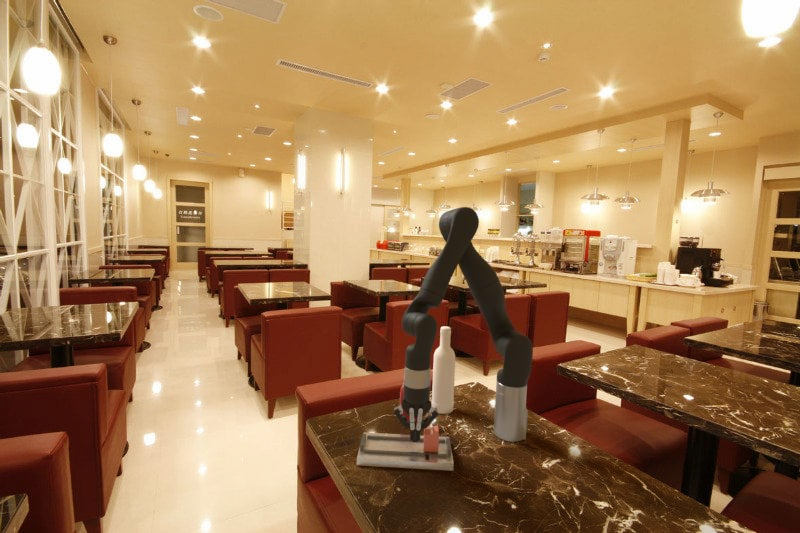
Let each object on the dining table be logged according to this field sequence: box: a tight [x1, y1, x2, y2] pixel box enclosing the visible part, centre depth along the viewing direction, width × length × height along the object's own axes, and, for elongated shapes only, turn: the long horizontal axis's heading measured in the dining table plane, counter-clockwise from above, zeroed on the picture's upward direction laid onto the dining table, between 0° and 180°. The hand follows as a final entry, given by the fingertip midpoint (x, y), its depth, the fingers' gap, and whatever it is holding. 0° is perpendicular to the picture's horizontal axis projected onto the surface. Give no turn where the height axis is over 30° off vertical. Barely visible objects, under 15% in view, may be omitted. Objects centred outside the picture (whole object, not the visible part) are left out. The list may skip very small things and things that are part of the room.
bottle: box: [431, 325, 456, 415], centre depth 133 cm, size 8×8×30 cm
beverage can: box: [399, 383, 417, 422], centre depth 125 cm, size 6×6×12 cm
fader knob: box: [423, 423, 440, 453], centre depth 105 cm, size 4×5×6 cm
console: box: [356, 432, 455, 472], centre depth 106 cm, size 26×13×4 cm, turn 88°
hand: (414, 440), depth 106 cm, fingers closed
